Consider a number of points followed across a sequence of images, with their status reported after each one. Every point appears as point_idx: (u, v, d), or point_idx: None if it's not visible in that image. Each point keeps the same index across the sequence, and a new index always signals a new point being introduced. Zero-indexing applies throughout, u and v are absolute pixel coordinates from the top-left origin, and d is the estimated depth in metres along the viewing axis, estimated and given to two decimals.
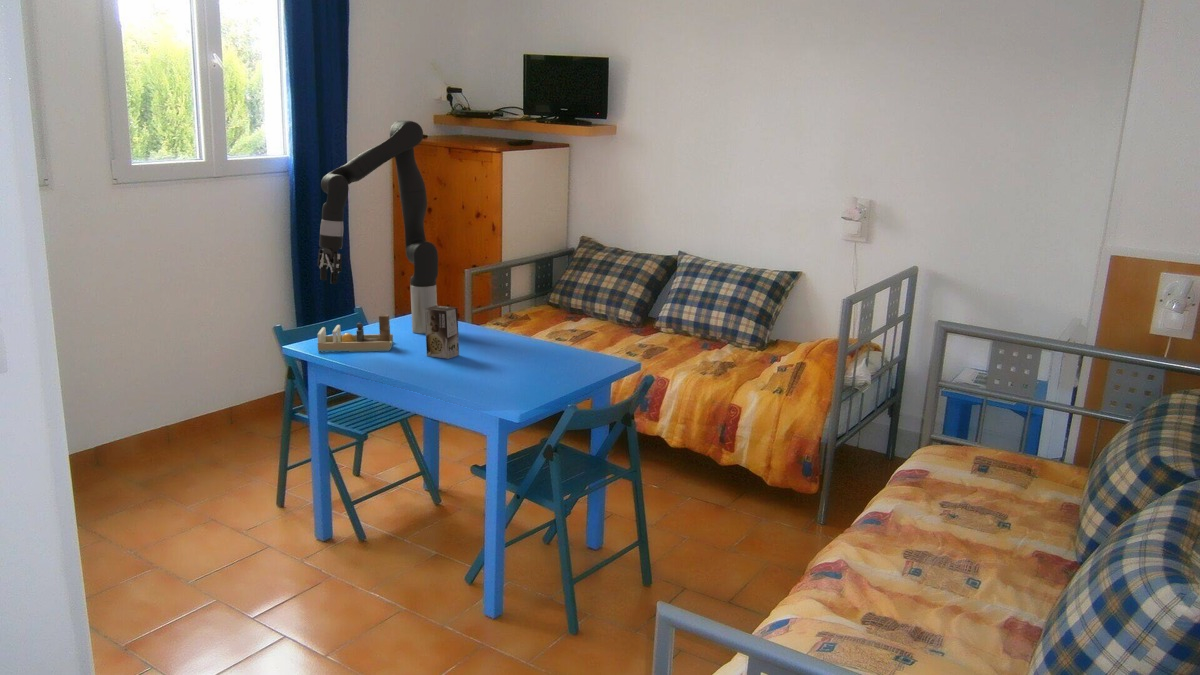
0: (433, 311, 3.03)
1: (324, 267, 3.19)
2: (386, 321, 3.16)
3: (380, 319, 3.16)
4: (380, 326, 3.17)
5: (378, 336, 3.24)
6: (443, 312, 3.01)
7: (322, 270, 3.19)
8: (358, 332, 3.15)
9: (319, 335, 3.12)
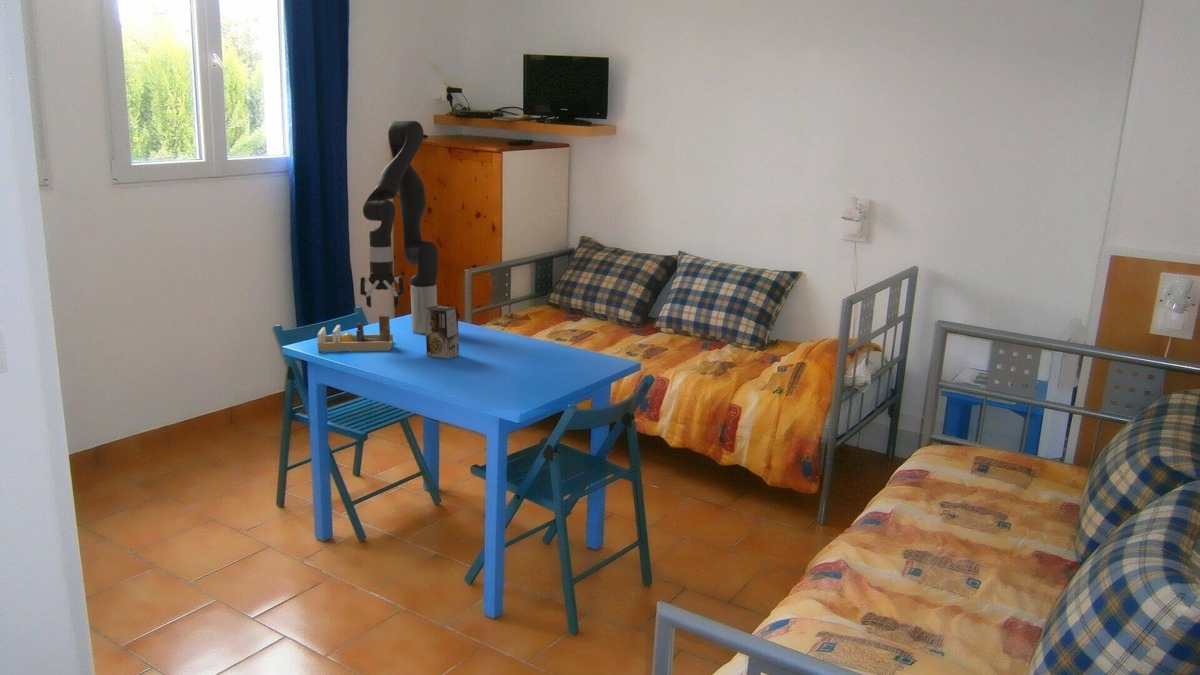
0: (433, 311, 3.03)
1: None
2: (386, 321, 3.16)
3: (380, 319, 3.16)
4: (380, 326, 3.17)
5: (378, 336, 3.24)
6: (443, 312, 3.01)
7: (370, 297, 3.15)
8: (358, 332, 3.15)
9: (319, 335, 3.12)
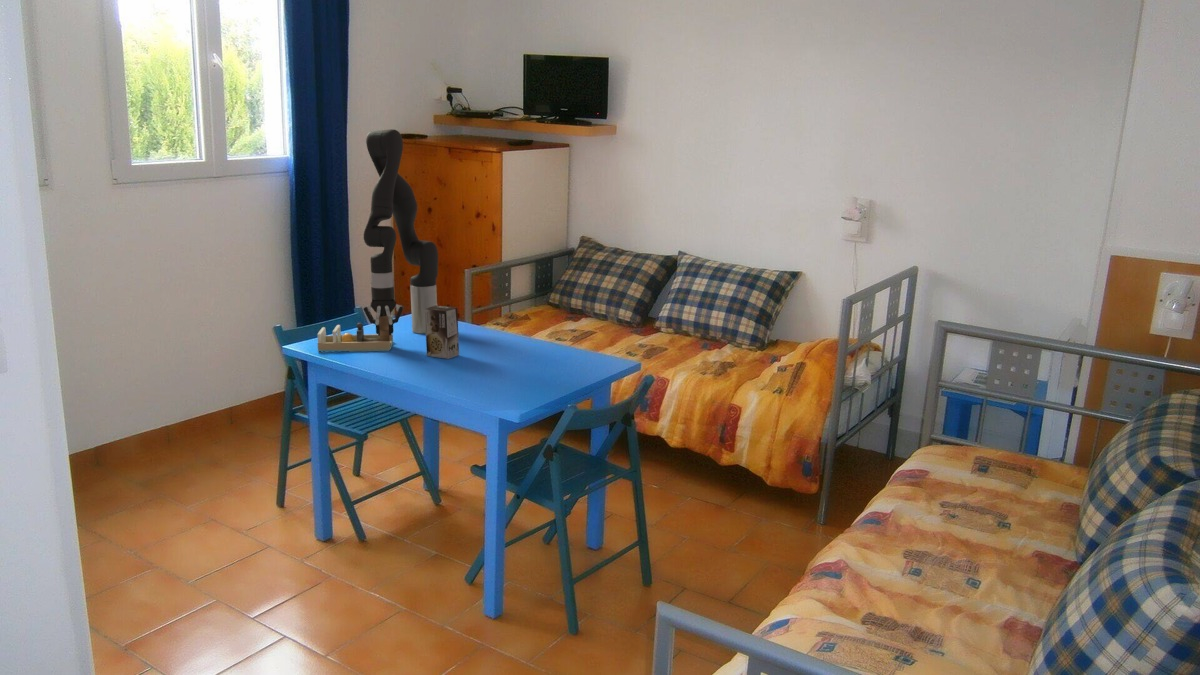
0: (433, 311, 3.03)
1: None
2: (386, 321, 3.16)
3: (380, 319, 3.16)
4: (380, 326, 3.17)
5: (378, 336, 3.24)
6: (443, 312, 3.01)
7: None
8: (358, 332, 3.15)
9: (319, 335, 3.12)
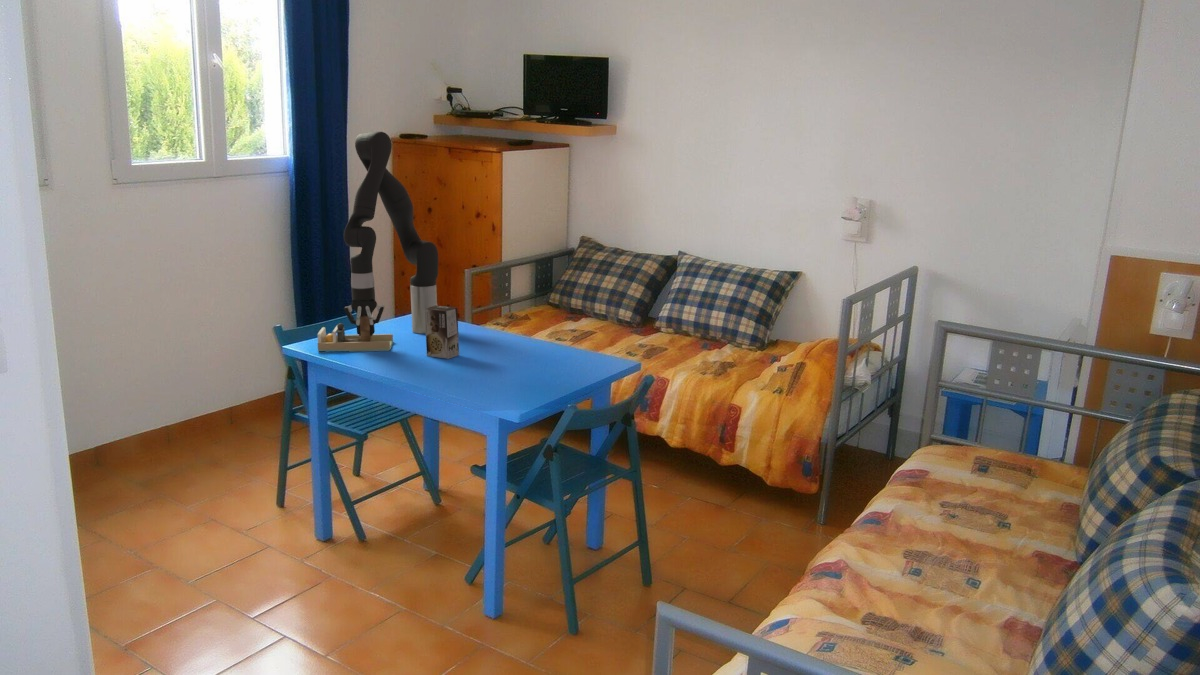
0: (433, 311, 3.03)
1: None
2: (367, 321, 3.16)
3: (361, 319, 3.15)
4: (361, 326, 3.16)
5: (378, 336, 3.24)
6: (443, 312, 3.01)
7: None
8: (339, 332, 3.14)
9: (319, 335, 3.12)
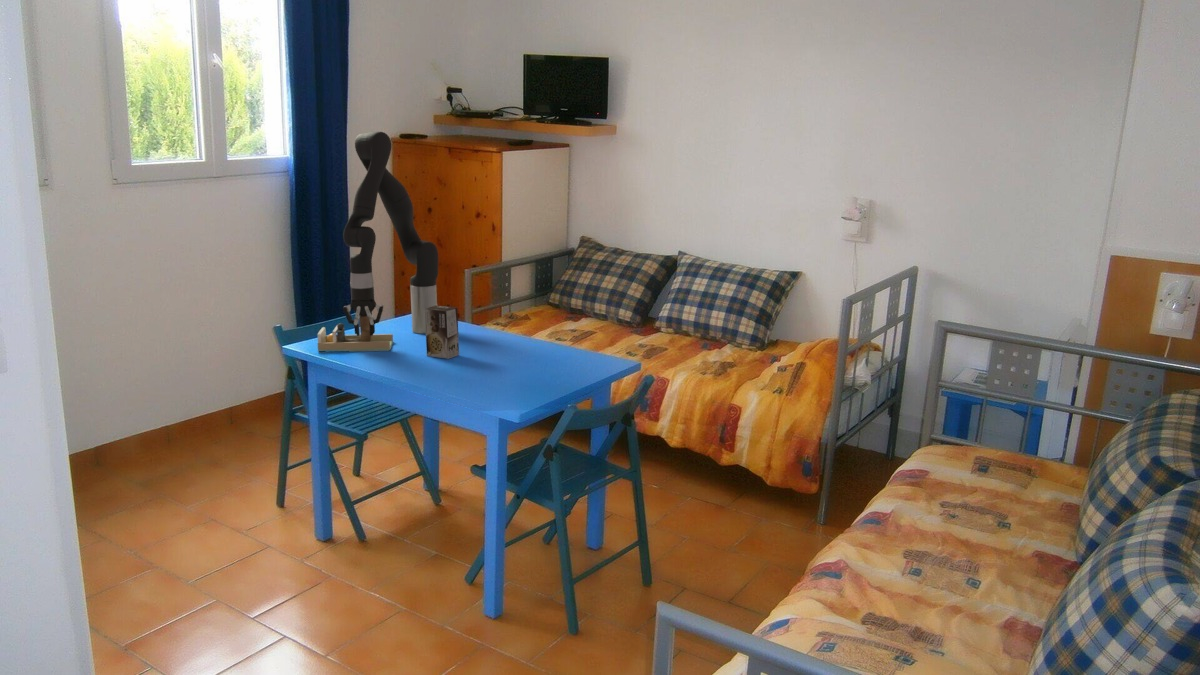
0: (433, 311, 3.03)
1: None
2: (367, 321, 3.16)
3: (361, 319, 3.15)
4: (361, 326, 3.16)
5: (378, 336, 3.24)
6: (443, 312, 3.01)
7: (358, 326, 3.17)
8: (339, 332, 3.14)
9: (319, 335, 3.12)
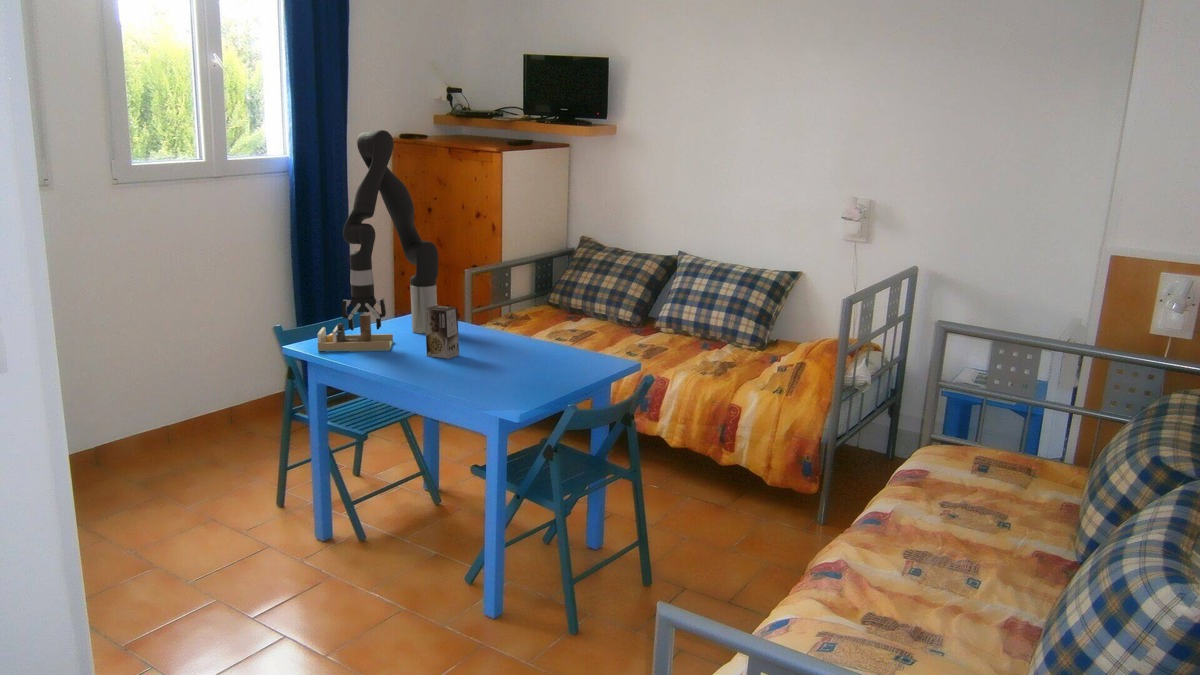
0: (433, 311, 3.03)
1: None
2: (367, 321, 3.16)
3: (361, 319, 3.15)
4: (361, 326, 3.16)
5: (378, 336, 3.24)
6: (443, 312, 3.01)
7: (352, 320, 3.16)
8: (339, 332, 3.14)
9: (319, 335, 3.12)
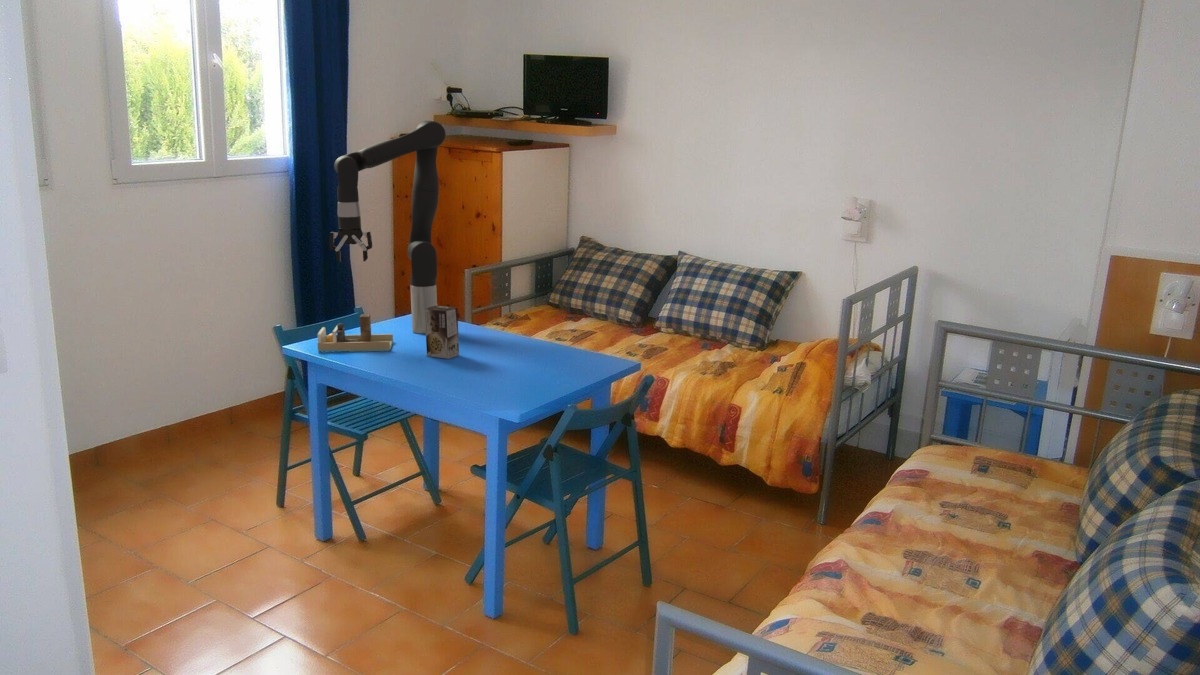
0: (433, 311, 3.03)
1: (339, 249, 3.25)
2: (367, 321, 3.16)
3: (361, 319, 3.15)
4: (361, 326, 3.16)
5: (378, 336, 3.24)
6: (443, 312, 3.01)
7: (339, 252, 3.25)
8: (339, 332, 3.14)
9: (319, 335, 3.12)
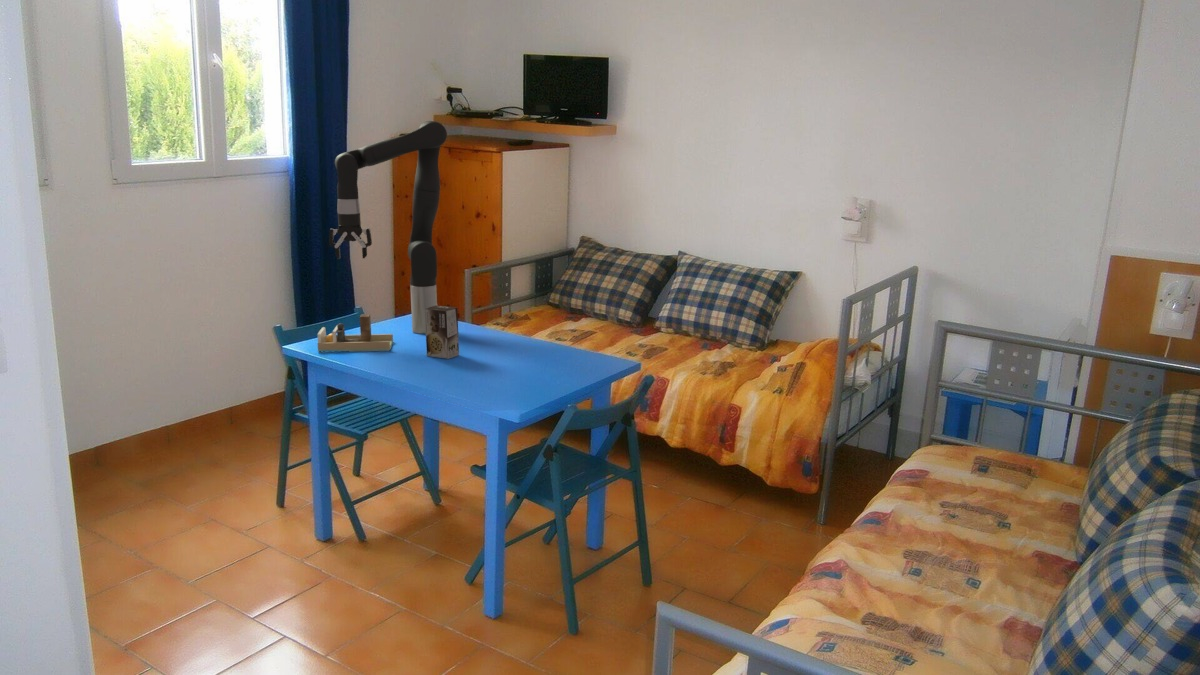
0: (433, 311, 3.03)
1: (338, 246, 3.26)
2: (367, 321, 3.16)
3: (361, 319, 3.15)
4: (361, 326, 3.16)
5: (378, 336, 3.24)
6: (443, 312, 3.01)
7: (339, 249, 3.26)
8: (339, 332, 3.14)
9: (319, 335, 3.12)
